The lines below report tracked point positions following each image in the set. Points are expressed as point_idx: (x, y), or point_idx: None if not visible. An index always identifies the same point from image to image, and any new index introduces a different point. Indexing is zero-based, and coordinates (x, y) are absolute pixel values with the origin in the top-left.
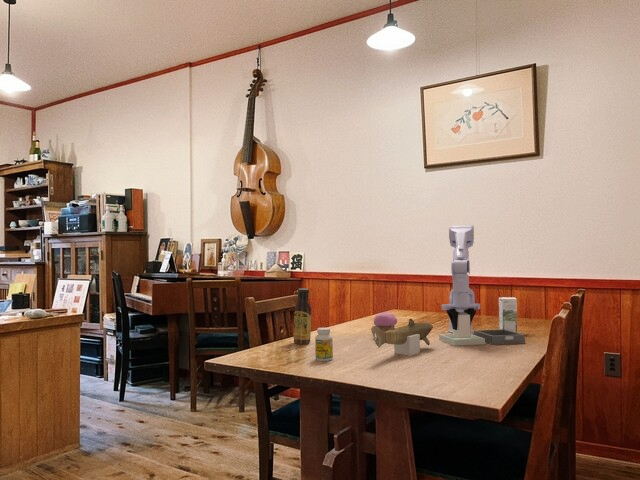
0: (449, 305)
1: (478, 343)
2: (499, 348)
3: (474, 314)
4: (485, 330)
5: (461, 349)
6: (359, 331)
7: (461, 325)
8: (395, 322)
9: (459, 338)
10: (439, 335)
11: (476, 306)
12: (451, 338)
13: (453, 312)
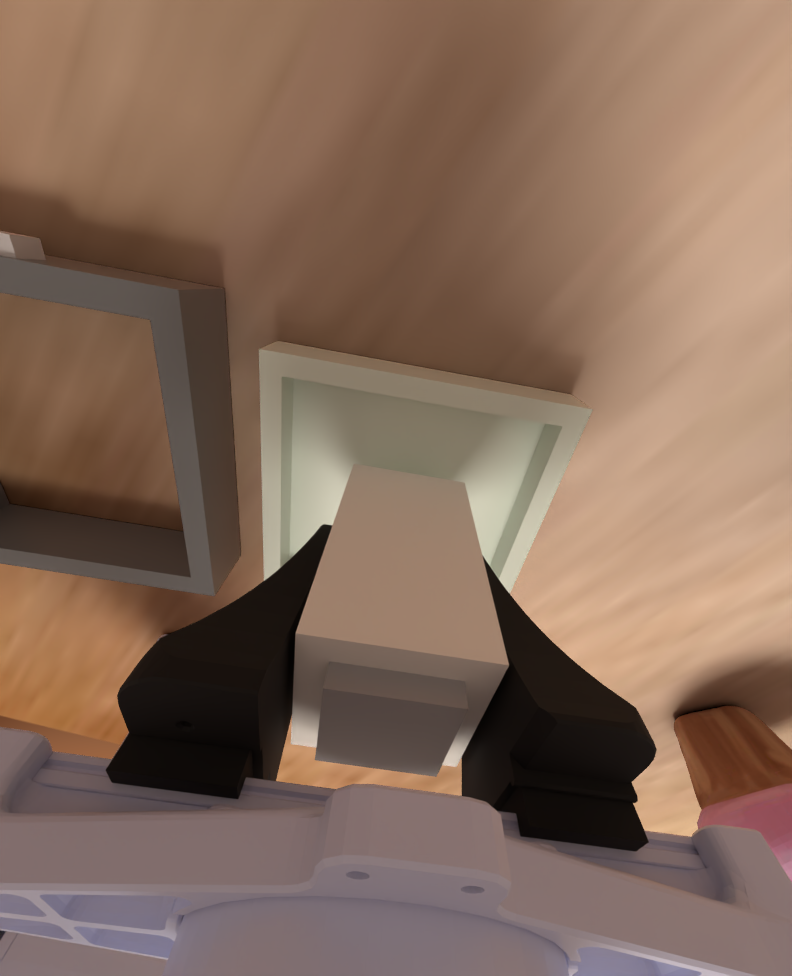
0: (748, 962)
1: (340, 353)
2: (251, 43)
3: (202, 624)
4: (115, 565)
5: (672, 197)
6: (655, 826)
7: (445, 543)
8: (786, 810)
9: None
10: None
11: (13, 816)
12: (548, 477)
13: (640, 727)
